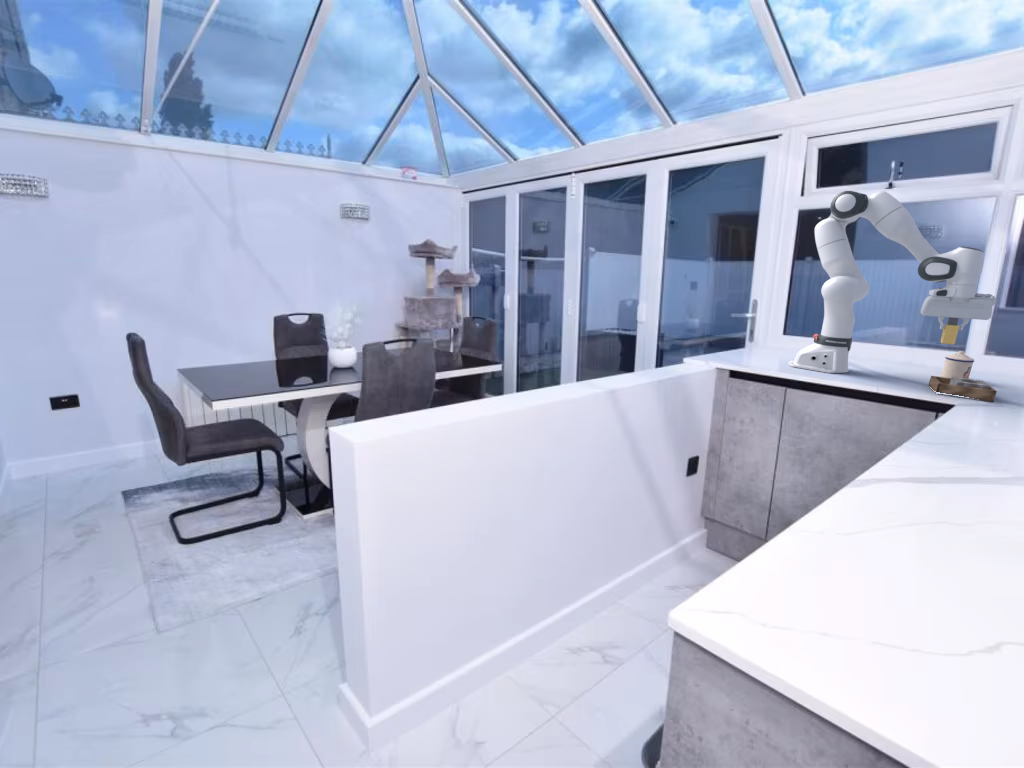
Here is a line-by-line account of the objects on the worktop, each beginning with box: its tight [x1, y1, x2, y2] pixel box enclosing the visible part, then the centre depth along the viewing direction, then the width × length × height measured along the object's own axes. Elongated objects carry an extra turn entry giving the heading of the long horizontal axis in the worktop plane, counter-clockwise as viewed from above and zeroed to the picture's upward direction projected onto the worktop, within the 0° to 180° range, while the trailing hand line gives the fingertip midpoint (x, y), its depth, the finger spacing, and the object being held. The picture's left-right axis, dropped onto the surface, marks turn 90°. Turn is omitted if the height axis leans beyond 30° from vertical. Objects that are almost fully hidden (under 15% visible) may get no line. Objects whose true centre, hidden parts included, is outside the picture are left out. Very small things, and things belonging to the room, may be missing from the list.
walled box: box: [928, 375, 998, 403], centre depth 187 cm, size 16×14×5 cm
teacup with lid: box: [940, 350, 975, 379], centre depth 210 cm, size 12×9×12 cm
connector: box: [940, 317, 960, 345], centre depth 192 cm, size 4×4×10 cm
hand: (950, 329), depth 192 cm, fingers closed on connector, 4 cm apart
